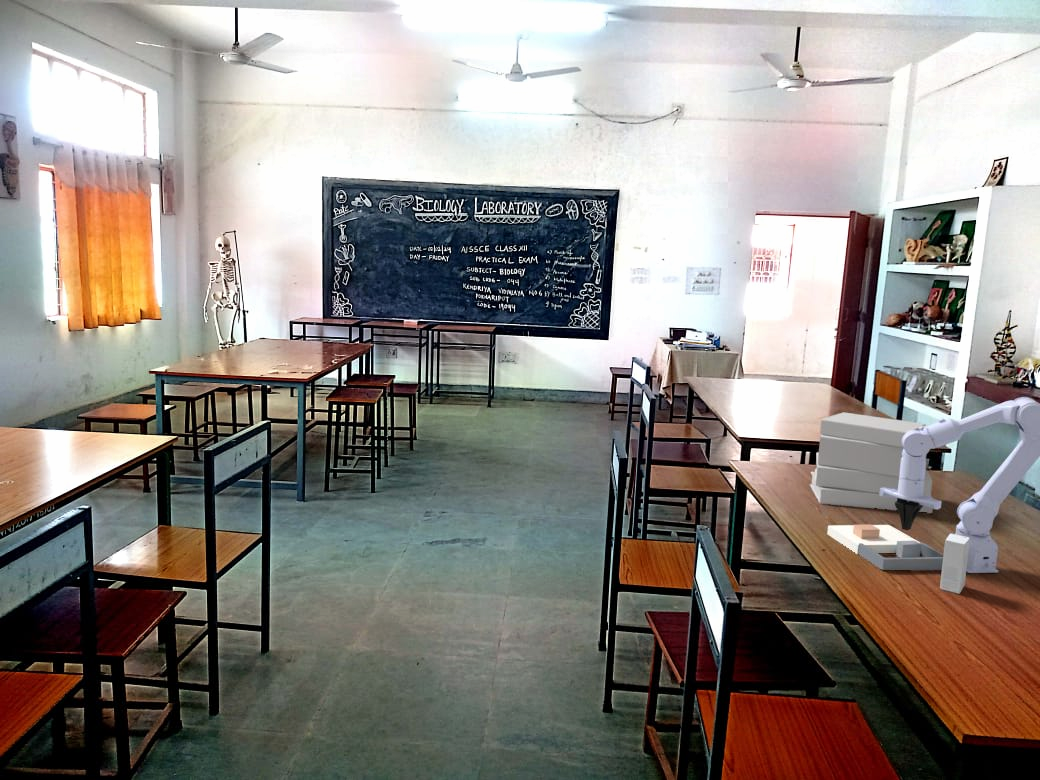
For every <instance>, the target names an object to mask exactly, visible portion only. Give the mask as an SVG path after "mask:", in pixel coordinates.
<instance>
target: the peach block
mask: <svg viewBox="0 0 1040 780" xmlns="http://www.w3.org/2000/svg"><path fill="white" fill-rule="evenodd" d="M853 525H854V527H853V534H854V535H856V536H857V537H859V538H861V539H879V533H880V529H878V528H876V527H875V526H873V525H874V524H853Z"/></svg>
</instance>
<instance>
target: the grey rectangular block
mask: <svg viewBox="0 0 1040 780" xmlns="http://www.w3.org/2000/svg"><path fill="white" fill-rule="evenodd" d="M917 541H918V540H917ZM917 541H897V546H896V554H894V555H897V556H898V557H900V558H917V557H921V555H920V551H921V544H920V543H918V542H919V541H918V542H917ZM897 556H896V557H897ZM898 557H897V558H898Z"/></svg>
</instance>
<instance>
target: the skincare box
mask: <svg viewBox="0 0 1040 780" xmlns="http://www.w3.org/2000/svg"><path fill="white" fill-rule="evenodd" d="M969 543H970V538H969V537H965V536H960V535H956V533H949V535H947V537H946V539H945V540H944V548H943V554H944V556H943V565H942V570H941V575H940V584H939V589H940V590H943V591H946V592H950V593H953V594H958V595H959V594H961V592H962V590H963V589H964V587H965V584H966V576H967V575H966V574H967V572H966V568H967V559H968V551H969Z"/></svg>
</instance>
